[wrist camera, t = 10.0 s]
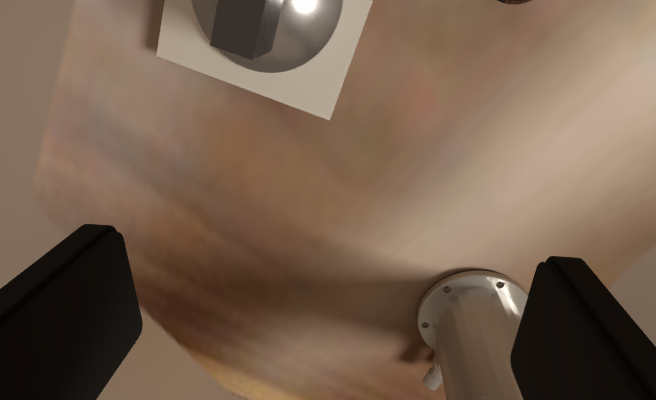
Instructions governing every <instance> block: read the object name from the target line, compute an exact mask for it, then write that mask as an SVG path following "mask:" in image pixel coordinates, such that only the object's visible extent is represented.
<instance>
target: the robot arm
mask: <svg viewBox="0 0 656 400" xmlns="http://www.w3.org/2000/svg"><path fill="white" fill-rule="evenodd" d="M417 322H418V327H419V332H420V334H421V336H422V338H423V340H424V341H425V342H426V344H427V345H428V346H429V347H430V348H432V349H433V350H434V352H435V357H434V358H433V366H432V367H431V368H430V369H429V371H428V372H427V374H426V375H425V377H424V378H423V383H424V384H425V386H426V387H427V388H428V389H430V390H437V389H438V387H439V386H440V385H441V383H442V382H443V384H444V389H445V394H446V399H447V400H656V347H655V346H654V344H653V343H652V342H651V341H650V340H649V339H648V337H647V336H646V335H645V334H644V333H643V331H642V330H641V329H640V328H639V326H638V325H637V324H636V323H635V322H634V320H633V319H632V318H631V317H630V316H629V315H628V313H627V312H626V311H625V310H624V308H623V307H622V306H621V305H620V304H619V303H618V301H617V300H616V299H615V298H614V297H613V295H612V294H611V293H610V292H609V291H608V289H607V288H606V287H605V286H604V285H603V283H602V282H601V281H600V280H599V279H598V277H597V276H596V275H595V274H594V273H593V271H592V270H591V269H590V268H589V267H588V265H587V264H586V263H585V262H584V261H583V260H582V259H580V258H573V257H558V256H551V257H549V258H548V259H547V260H546V262H541V263H539V264H538V266H537V268H536V272H535V275H534V278H533V282H532V285H531V288H530V292H529V295H527V294H526V292H525V290H524V289H523V288H522V287H521V286H520V285H519V284H518V283H517V282H515V281H514V280H512V279H510V278H509V277H507V276H504V275H502V274H499V273H495V272H490V271H478V270H476V271H466V272H461V273H457V274H454V275H451V276H449V277H447V278H444V279H443V280H441V281H439V282H438V283H436V284H435V285H434V286H433V287H432V288H430V289H429V290H428V291H427V293H426V294H425V295H424V297H423V298H422V300H421V302H420V304H419V307H418V312H417ZM141 331H142V317H141V313H140V309H139V304H138V300H137V295H136V291H135V287H134V282H133V278H132V273H131V269H130V265H129V260H128V256H127V251H126V247H125V242H124V238H123V236H122V234H121V233H119V232H117V231H116V229H115V228H114V227H113V226H110V225H96V224H85V225H83V226H81V227H80V228H78V229H77V230H76V231H75V232H73V233H72V234H71V235H69V236H68V237H67V238H66V239H64V240H63V241H62V242H60V243H59V244H58V245H56V246H55V247H54V248H53V249H51V250H50V251H49V252H48V253H46V254H45V255H44V256H42V257H41V258H40V259H38V260H37V261H36V262H35V263H33V264H32V265H31V266H29V267H28V268H27V269H26V270H24V271H23V272H22V273H20V274H19V275H18V276H17V277H15V278H14V279H13V280H11V281H10V282H9V283H7V284H6V285H5V286H4V287H2V288H1V289H0V400H96V399H97V398H98V396H99V395H100V393H101V392H102V390H103V389H104V387H105V386H106V384H107V383H108V381H109V380H110V379H111V377H112V376H113V374H114V373H115V371H116V370H117V368H118V367H119V365H120V364H121V362H122V361H123V360H124V358H125V357H126V355H127V354H128V352H129V351H130V349H131V348H132V347H133V345H134V344H135V342H136V341H137V339H138V338H139V336H140V334H141Z"/></svg>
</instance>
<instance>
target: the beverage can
mask: <svg viewBox="0 0 656 400" xmlns="http://www.w3.org/2000/svg"><path fill="white" fill-rule="evenodd" d="M498 1H500V2H503V3H507V4H521V3H526V2H529V1H531V0H498Z"/></svg>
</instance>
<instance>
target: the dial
mask: <svg viewBox="0 0 656 400" xmlns="http://www.w3.org/2000/svg"><path fill="white" fill-rule="evenodd" d="M191 2H192V6H193V10H194V12H195V15H196V18H197V20H198V22H199V24H200V26H201V28H202V30H203V32H204V33H205V35H206V36H207V38H208V39H209V40H210V46H212V47H215V48H216V49H217V50H219V51H220V52H221V53H222V54H223V55H224V56H225V57H227V58H228V59H229V60H231V61H232V62H234V63H236V64H238V65H239V66H242V67H244V68H247V69H249V70H253V71H257V72H264V73H278V72H285V71H289V70H292V69H295V68H297V67H299V66H302V65H303V64H305V63H307V62H308V61H310V60H311V59H312V58H314V57H315V56H316V55H317V54H318V53H319V52H320V51H321V50H322V49H323V48H324V47H325V46H326V44H327V43H328V41H329V40H330V39H331V37H332V35H333V33H334V31H335V29H336V27H337V25H338V22H339V19H340V16H341V12H342V7H343V0H191Z"/></svg>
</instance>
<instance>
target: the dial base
mask: <svg viewBox="0 0 656 400" xmlns="http://www.w3.org/2000/svg"><path fill="white" fill-rule="evenodd" d="M372 2H373V0H343V7H342V12H341V16H340V19H339V22H338V25H337V27H336V29H335V31H334V33H333V35H332V37H331V39H330V40H329V41H328V43H327V44H326V46H325V47H324V48H323V49H322V50H321V51H320V52H319V53H318V54H317V55H316V56H315V57H314V58H312V59H311V60H310V61H308V62H307V63H305V64H303V65H302V66H299V67H297V68H295V69H292V70H289V71H285V72H278V73H264V72H257V71H253V70H249V69H247V68H244V67H242V66H239V65H238V64H236V63H234V62H232V61H231V60H229V59H228V58H227V57H225V56H224V55H223V54H222V53H221V52H220V51H219V50H217V49H216V48H215V47H212V46H210V40H209V39H208V38H207V36H206V35H205V33H204V32H203V30H202V28H201V26H200V24H199V22H198V20H197V18H196V15H195V12H194V10H193V6H192V2H191V0H165V2H164V9H163V15H162V22H161V29H160V35H159V42H158V49H157V56H158V57H161V58H164V59H166V60H169V61H172V62H174V63H177V64H180V65H182V66H185V67H188V68H190V69H193V70H196V71H198V72H201V73H204V74H206V75H209V76H212V77H214V78H217V79H220V80H222V81H225V82H228V83H231V84H233V85H236V86H239V87H241V88H244V89H247V90H249V91H252V92H255V93H257V94H260V95H263V96H265V97H268V98H271V99H273V100H276V101H279V102H281V103H284V104H287V105H290V106H292V107H295V108H298V109H300V110H303V111H306V112H308V113H311V114H314V115H316V116H319V117H322V118H324V119H327V120H330V118H331V115H332V112H333V110H334V107H335V104H336V101H337V99H338V96H339V93H340V90H341V88H342V85H343V82H344V79H345V76H346V74H347V71H348V68H349V65H350V63H351V60H352V57H353V54H354V52H355V49H356V46H357V43H358V41H359V38H360V35H361V32H362V30H363V27H364V24H365V21H366V18H367V16H368V13H369V10H370V7H371V5H372Z"/></svg>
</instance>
